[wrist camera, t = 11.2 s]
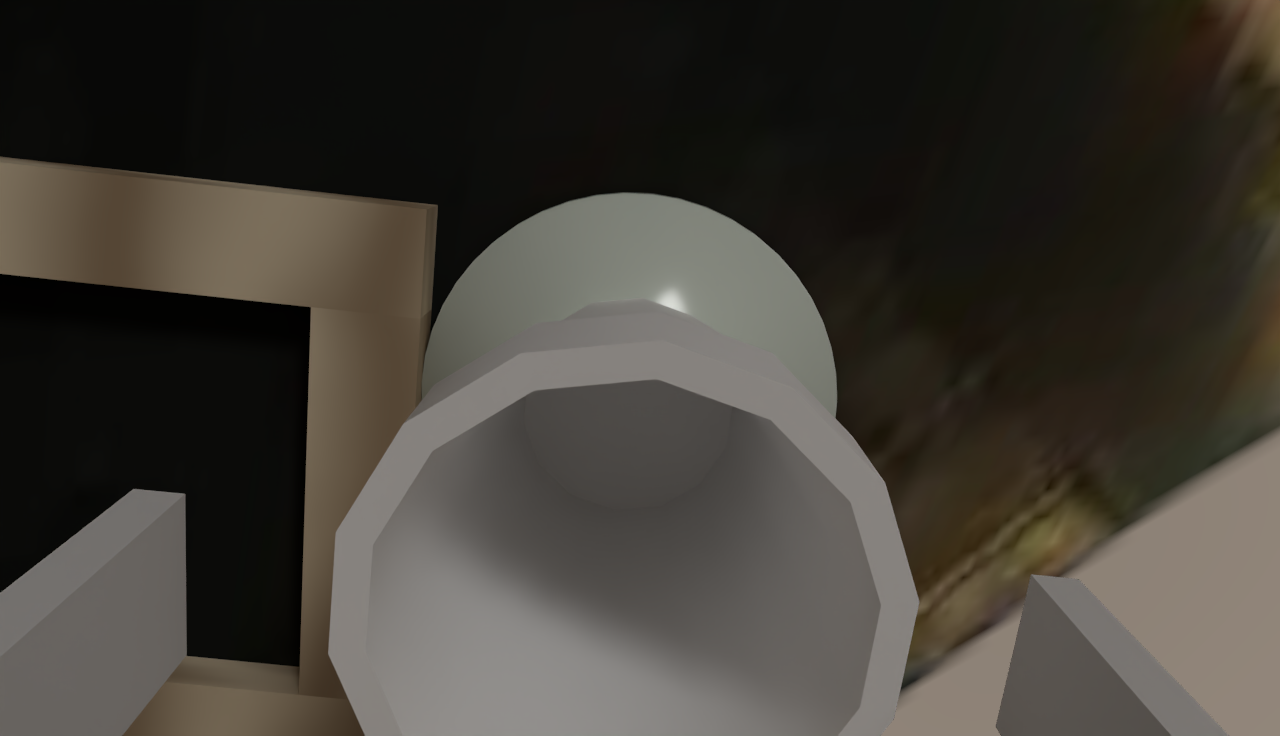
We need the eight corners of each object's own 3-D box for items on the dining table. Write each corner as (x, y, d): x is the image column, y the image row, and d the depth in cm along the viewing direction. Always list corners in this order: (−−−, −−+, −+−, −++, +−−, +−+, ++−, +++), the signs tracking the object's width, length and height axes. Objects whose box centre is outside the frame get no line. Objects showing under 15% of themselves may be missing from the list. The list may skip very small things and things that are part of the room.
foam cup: (842, 313, 28) (1015, 468, 15) (722, 595, 30) (786, 940, 17) (524, 195, 27) (424, 254, 14) (423, 493, 29) (258, 775, 16)
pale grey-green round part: (416, 562, 30) (410, 573, 30) (439, 169, 27) (434, 170, 27) (799, 600, 31) (803, 613, 30) (862, 216, 28) (868, 219, 27)
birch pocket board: (-158, 706, 31) (-196, 734, 30) (-211, 133, 27) (-259, 133, 26) (404, 759, 32) (392, 789, 30) (437, 205, 28) (426, 209, 26)
